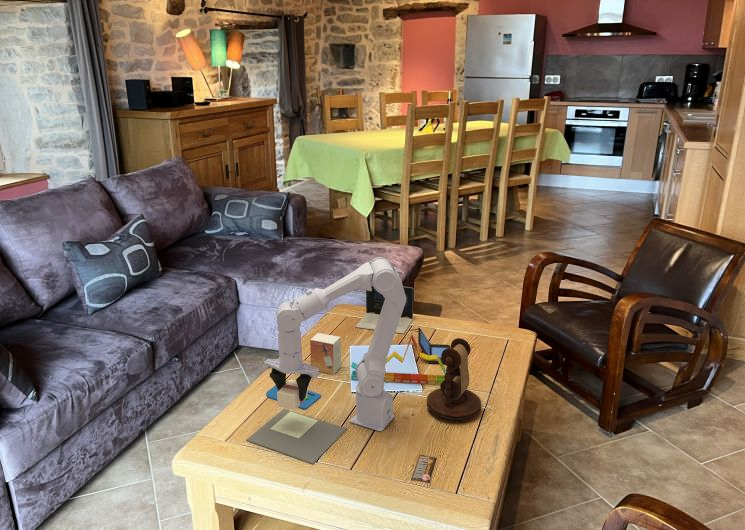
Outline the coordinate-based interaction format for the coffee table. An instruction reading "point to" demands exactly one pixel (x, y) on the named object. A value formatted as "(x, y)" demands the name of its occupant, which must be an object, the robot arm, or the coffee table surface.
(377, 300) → the laptop
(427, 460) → the chocolate bar
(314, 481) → the coffee table surface
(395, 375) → the chart
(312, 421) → the mat
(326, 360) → the small box
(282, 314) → the robot arm
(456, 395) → the brown upright jointed piece
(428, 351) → the handheld game console
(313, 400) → the handheld gaming device
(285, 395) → the card deck
